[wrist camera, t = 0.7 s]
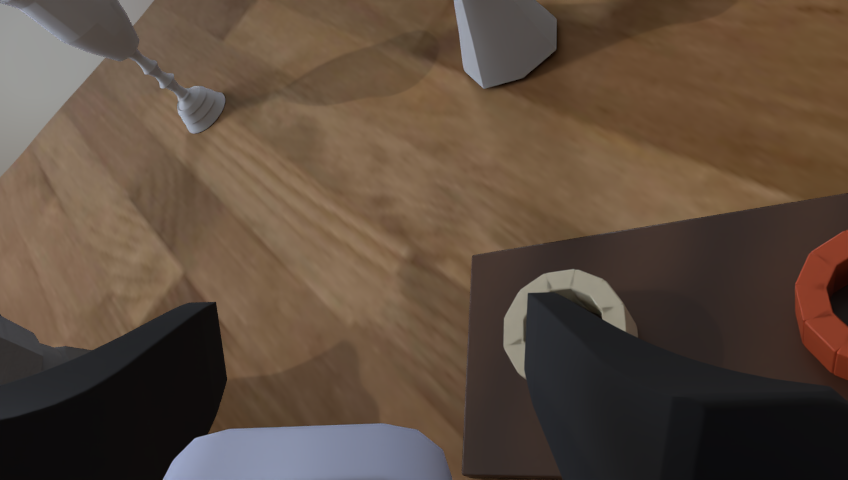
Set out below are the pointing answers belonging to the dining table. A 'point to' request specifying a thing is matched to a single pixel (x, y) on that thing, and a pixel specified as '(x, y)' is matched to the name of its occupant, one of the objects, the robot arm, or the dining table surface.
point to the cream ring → (574, 287)
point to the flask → (503, 38)
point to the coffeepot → (28, 353)
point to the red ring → (824, 304)
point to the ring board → (653, 312)
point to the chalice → (118, 48)
